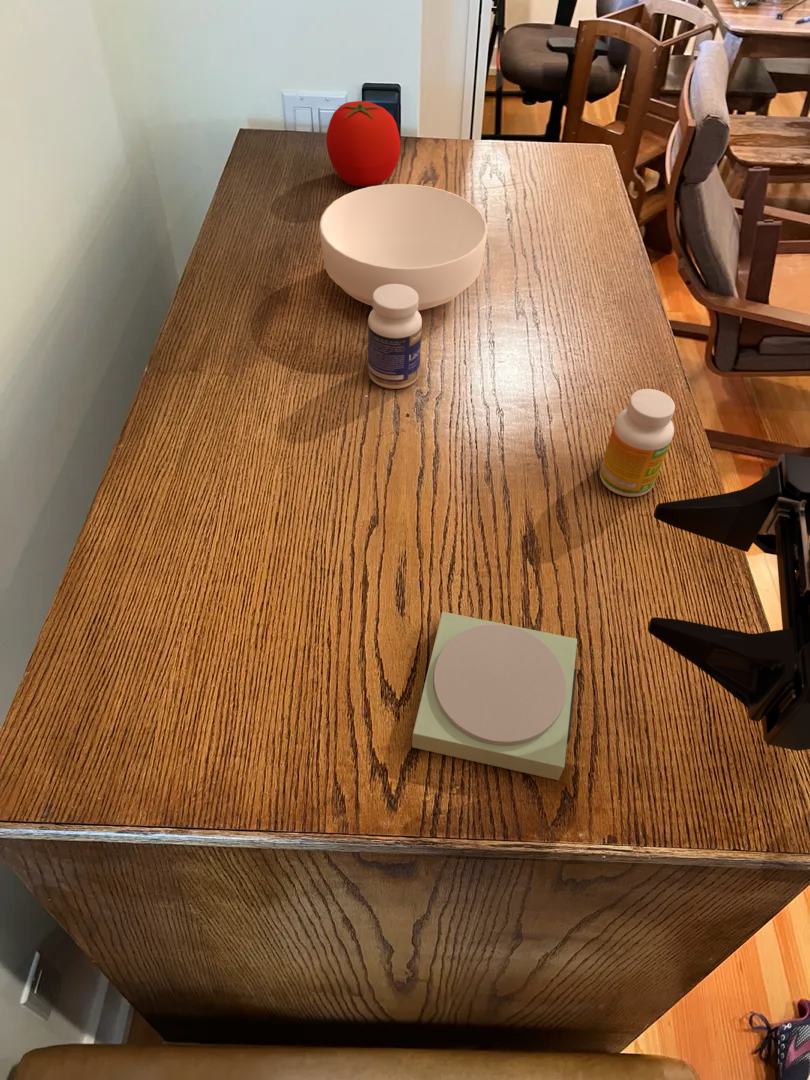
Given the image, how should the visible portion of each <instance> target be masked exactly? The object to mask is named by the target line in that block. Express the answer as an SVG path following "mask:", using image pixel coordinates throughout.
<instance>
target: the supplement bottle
mask: <svg viewBox="0 0 810 1080" xmlns="http://www.w3.org/2000/svg"><path fill="white" fill-rule="evenodd" d="M675 410H676V406H675V401H674V400H673V399H672V397H670V395H668V394H667V393H665V392H663V391H661V390H658V389H655V388H642V389H639V390H636V391H634V392H633V393H632V394H631V395H630V398H629V401H628V403H627V407H626V408H624V409H622V410H621V411H620V412H619V413H618V414H617V416H616V418H615V421H614V422H613V426H612V428H611V429H612V430H611V433H610V436H609V439H608V443H607V446H606V448H605V451H604V455H603V457H602V461H601V464H600V467H599V477H600V480H601V483H602V484H603V485H604V486H605V487H606V489H608V490H609V491H611V492H613V493H614V494H616V495H620V496H623V497H630V498H633V497H634V498H635V497H641V496H644V495H646V494H648V493H649V492H650V491H651V490H652V489H653V487H654V485H655V483H656V481H657V478H658V476H659V473H660V470H661V468H662V466H663V463H664V461H665V458H666V456H667V453H668V450H669V448H670V445H671V443H672V440H673V438H674V434H675V426H674V423H673V421H672V419H673V416H674V413H675Z"/></svg>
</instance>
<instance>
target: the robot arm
mask: <svg viewBox="0 0 810 1080" xmlns="http://www.w3.org/2000/svg"><path fill="white" fill-rule="evenodd" d="M653 518H654V519H655V520H658V521H660V522H663V523H664V524H667V525H669V526H671V527H673V528H676V529H679V530H682V531H685V532H688V533H690V534H693V535H696V536H699V537H702V538H704V539H708V540H709V541H710V540H711V541H712V542H713V541H714V542H716V543H719V544H722V545H725V546H727V547H731V548H733V549H736V550H739V551H742V552H745V553H748V552H749V551H750V549H751V547H752V545H753V544H754V545H755V546H756V547H757V548H758V549H760V551H762V552H763V553H764V554H767V555H774V556H776V561H777V562H776V563H777V574H778V587H779V589H778V591H779V601H780V613H781V627H782V629H777V630H771V631H765V632H764V631H763V632H758V633H750V632H744V631H740V630H734V629H728V628H723V627H719V626H714V625H708V624H703V623H699V622H694V621H688V620H684V619H679V618H678V619H677V618H669V617H668V618H667V617H657V616H654V617H651V618H650V619H649V622H648V624H647V631H648V633H649V634H650V635H652V636H654V637H655V638H656V639H657V640H659V641H660V642H662V643H663V644H664V645H666V646H667V647H669V648H670V649H672V650H673V651H674V652H676V653H677V654H679V655H680V656H682V657H683V658H685V660H686V661H689V662H690V663H692V664H693V665H694V666H695V667H697V668H698V669H700V670H701V671H703V672H704V673H705V674H706V675H708V676H709V677H711V679H713V680H714V681H715V682H716V683H718V684H719V685H720V686H721V687H722V688H723V689H725V690H726V691H727V693H729V694H731V695H732V696H733V697H734V698H735V699H737V701H739V702H740V703H741V704H743V705H744V706H745V708H746V710H747V717H748V719H749V720H750V721H752V722H757V723H759V722H760V721H762V722H761V723H762V738H763V741H764V742H765V744H766V745H768V746H773V747H776V748H777V747H778V748H782V749H786V750H791V751H795V752H800V751H806V750H808V751H809V750H810V456H805V455H798V454H794V453H793V454H791V453H785V452H784V453H783V452H782V453H780V454H779V457H778V459H777V460H776V462H775V464H774V465H771V466H769V467H767V468H765V470H764V472H763V474H762V476H761V478H760V479H758V480H757V481H756V482H754V483H752V484H751V485H749V486H746V487H745V488H742V489H737V490H734V491H730V492H726V493H725V492H724V493H720V494H715V495H713V494H712V495H706V496H700V497H693V498H686V499H680V500H674V501H666V502H661V503H658V504H656V506H655V509H654V511H653Z"/></svg>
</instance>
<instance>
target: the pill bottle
mask: <svg viewBox="0 0 810 1080" xmlns="http://www.w3.org/2000/svg"><path fill="white" fill-rule="evenodd" d="M371 307H372V310H371V311H370V313H369V315H368V318H367V371H368V376H369V379H370V380H371V381H372V382H374V383H375V384H376V385H378V386H379V387H382V388H385V389H392V390H396V389H403V388H406V387H407V388H408V387H409V386H411V385H413V384H414V383H415V382H416V381H417V380H418V379H419V376H420V372H421V371H420V369H421V351H422V350H421V349H422V335H423V334H422V331H423V318H422V315H421V313H420V312H419V311H418V310H417V309H418V294H417V292H416V291H415V290H414V289H413V288H411V287H409V286H406V285H402V284H388V285H383V286H381V287H379V288H377V289H376V290H375V291H374V293H373V301H372V306H371Z"/></svg>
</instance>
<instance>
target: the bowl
mask: <svg viewBox="0 0 810 1080" xmlns="http://www.w3.org/2000/svg"><path fill="white" fill-rule="evenodd" d="M319 235H320V246H321V252H322V259H323V266H324V269H325V271H326V273H327V274H328V276H329V278H330V280H332V281H333V282H334V283H335V284H336V285H338V287H340V288H341V289H342V290H343V291H344V292H345V293H346V294H347V295H349V296H350V297H352V298H353V299H354V300H357V301H359V302H361V303H363V304H365V305H368V306H371V307H373V306H372V301H373V293H374V291H375V290H376V289H377V288H379V287H381V286H383V285H388V284H402V285H406V286H409V287H411V288H413V289H414V290H415V291H416V292H417V294H418V309H417V310H418V312H419V311H423V310H428V309H432V308H435V307H437V306H441V305H443V304H446V303H449V302H450V301H452V300H454V299H455V298H456V297H458V296H459V295H460V294H461V293H463V291H465V290H466V289H468V288H469V287H470V286H471V285H472V284H474V282H476V280H477V278H478V277H479V276H480V273H481V270H482V267H483V262H484V256H485V252H486V246H487V237H488V224H487V222H486V219H485V217H484V214H483V213H482V212H481V211H480V210H479V208H477V206H475V204H473V203H471V202H470V201H468V200H467V199H465V198H463V197H462V196H460V195H458V194H456V193H454V192H450V191H447V190H445V189H441V188H436V187H432V186H428V185H422V184H410V183H389V184H387V183H386V184H377V185H371V186H366V187H363V188H360V189H356V190H353V191H351V192H349V193H346V194H344V195H342V196H340V197H339V198H337V199H335V200H333V202H331V204H329V205H328V206H327V207H326V208H325V210H324V211H323V213H322V215H321V217H320V222H319Z"/></svg>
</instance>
